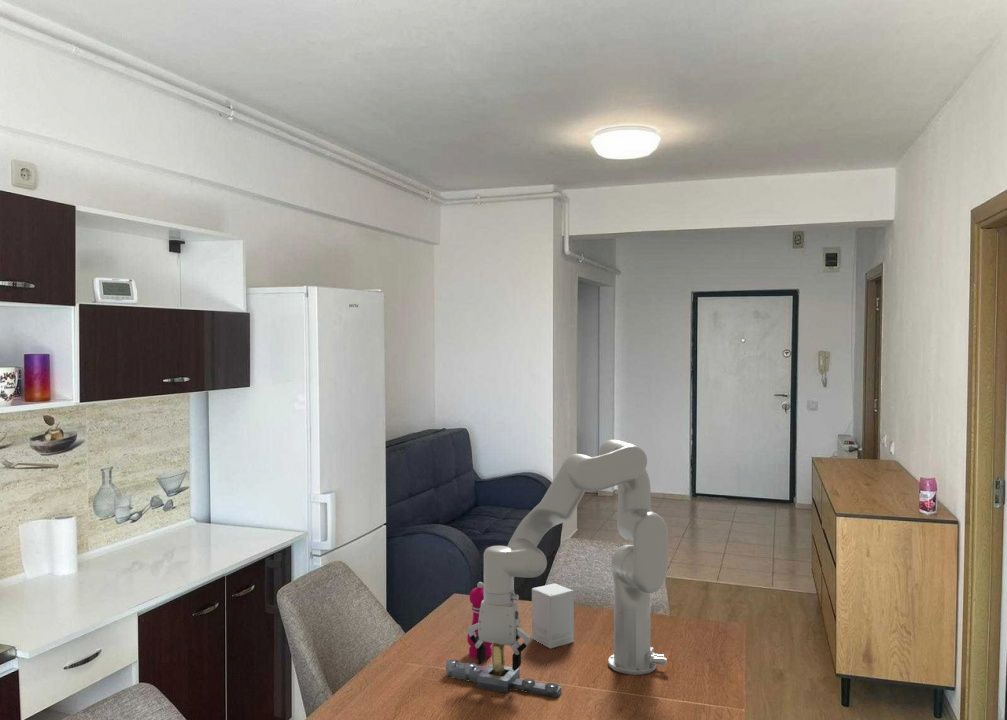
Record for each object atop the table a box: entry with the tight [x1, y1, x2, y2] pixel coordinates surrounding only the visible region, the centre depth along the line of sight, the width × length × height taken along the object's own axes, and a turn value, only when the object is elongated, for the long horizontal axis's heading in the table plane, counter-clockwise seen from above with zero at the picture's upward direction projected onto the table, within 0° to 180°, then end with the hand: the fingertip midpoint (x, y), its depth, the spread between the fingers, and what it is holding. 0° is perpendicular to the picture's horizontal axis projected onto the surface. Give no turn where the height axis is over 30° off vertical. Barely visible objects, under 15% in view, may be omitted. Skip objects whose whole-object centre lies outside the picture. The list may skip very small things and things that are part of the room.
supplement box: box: [531, 582, 575, 649], centre depth 222 cm, size 9×9×15 cm
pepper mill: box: [466, 581, 493, 659], centre depth 212 cm, size 7×7×20 cm
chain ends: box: [445, 658, 562, 699], centre depth 194 cm, size 31×8×4 cm, turn 67°
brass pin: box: [491, 643, 506, 677], centre depth 194 cm, size 3×3×10 cm
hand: (498, 665), depth 194 cm, fingers open, 9 cm apart
